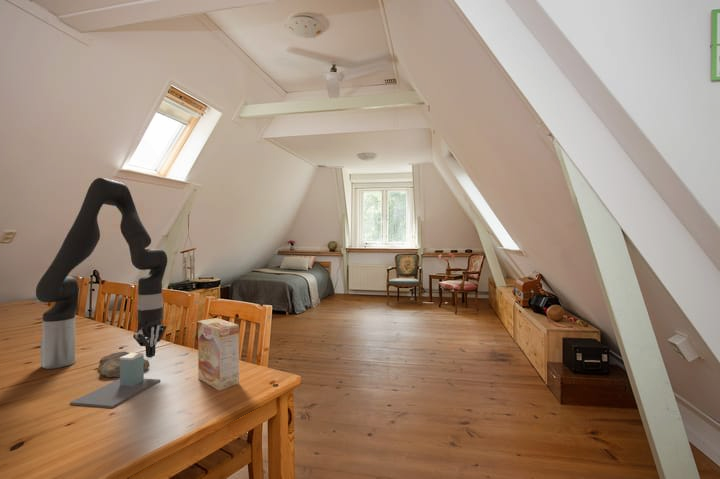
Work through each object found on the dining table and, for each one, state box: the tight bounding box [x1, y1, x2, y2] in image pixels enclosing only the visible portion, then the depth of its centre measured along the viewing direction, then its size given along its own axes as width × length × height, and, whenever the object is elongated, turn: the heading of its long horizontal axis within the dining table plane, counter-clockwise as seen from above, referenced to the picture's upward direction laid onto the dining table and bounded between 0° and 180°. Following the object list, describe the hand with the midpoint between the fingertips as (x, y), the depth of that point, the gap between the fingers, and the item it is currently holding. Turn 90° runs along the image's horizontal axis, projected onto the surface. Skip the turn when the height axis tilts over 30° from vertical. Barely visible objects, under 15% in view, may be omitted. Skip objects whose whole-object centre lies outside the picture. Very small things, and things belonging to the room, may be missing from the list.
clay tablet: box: [97, 351, 151, 378], centre depth 125 cm, size 14×5×20 cm
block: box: [119, 352, 145, 387], centre depth 110 cm, size 4×4×9 cm
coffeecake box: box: [197, 317, 240, 392], centre depth 113 cm, size 15×7×20 cm, turn 49°
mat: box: [69, 378, 161, 409], centre depth 105 cm, size 14×18×1 cm
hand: (150, 356), depth 118 cm, fingers closed
